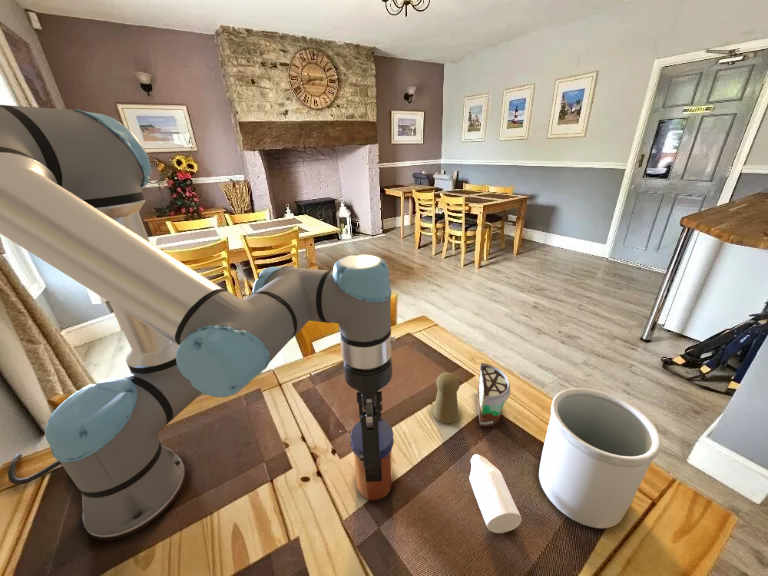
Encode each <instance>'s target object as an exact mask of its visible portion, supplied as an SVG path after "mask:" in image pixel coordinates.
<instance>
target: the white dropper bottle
mask: <svg viewBox="0 0 768 576" xmlns="http://www.w3.org/2000/svg"><path fill="white" fill-rule="evenodd" d="M470 465H471V467H470V474H469V477H468V478H469V482H470V485H471V489H472V491H473V494H474V497H475V499H476V501H477V505H478V508H479V510H480V513H481V515H482V518H483V520H484V524H485V525H486V528H487V530H488V531H489V532H492V533H495V534H504V533H507V532H510V531H512V530H515V529H517V528H518V527H519V526H520V525H521V524H522V521H523V519H522V515H521V514H520V512H519V509H518V508H517V505H516V503H515V501H514V499H513V497H512V494H511V492H510V489H509V487H508V485H507V484H506V481H505V478H504V476H503V474H502V472H501V471H500V470H499V469H498V467H496V466H495V465H494V464H492V463H491V462H490V461H489V460H488V459H487V458H486V457H484V456H483V455H480V454H477V453H475V454H473V455H472V457H471V458H470Z"/></svg>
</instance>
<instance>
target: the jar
mask: <svg viewBox="0 0 768 576" xmlns="http://www.w3.org/2000/svg"><path fill="white" fill-rule="evenodd" d="M392 450H393V449H392ZM392 450H391V452H390V453H389V454H388V455H387V456H386V457H384V458H383V459H381V470H382V481H377V482H366V474H365V469H364V466H363V462H364V461H360V458H359V457H357V456H356V455H355V453H354V452H353V456H354V466H355V467H354V469H355V479H356V487H357V490H358V492H359V494H360V495H361V496H362V497H363V498H365V499H367V500H369V501H378V500H381V499H384V498H385V497H386V496H387V495H388V494H389V493H390V491H391V489H392V486H393V453H392V452H393V451H392Z"/></svg>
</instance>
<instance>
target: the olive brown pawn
mask: <svg viewBox="0 0 768 576" xmlns="http://www.w3.org/2000/svg"><path fill="white" fill-rule="evenodd" d="M435 383H436V388H437V391H436V392H437V393H436V396H435V401H434V405H433V408H432V414H433V417H434V418H435V419H436V420H437V421H438V422H440V423H443V424H451V423H455V422H456V421H457V420H458V418H459V403H458V402H459V401H458V391H459V389H460V385H461V384H460V379H459V377H458V376H457V375H456V374H455V373H452V372H447V371H446V372H442V373H441V374H439V375H438V376H437V378H436V382H435Z"/></svg>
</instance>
